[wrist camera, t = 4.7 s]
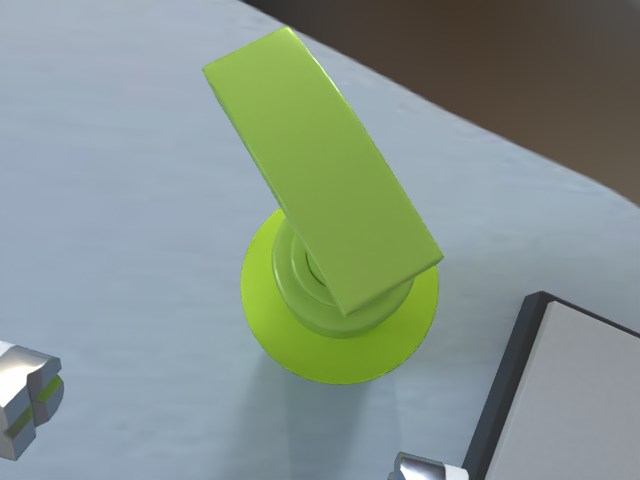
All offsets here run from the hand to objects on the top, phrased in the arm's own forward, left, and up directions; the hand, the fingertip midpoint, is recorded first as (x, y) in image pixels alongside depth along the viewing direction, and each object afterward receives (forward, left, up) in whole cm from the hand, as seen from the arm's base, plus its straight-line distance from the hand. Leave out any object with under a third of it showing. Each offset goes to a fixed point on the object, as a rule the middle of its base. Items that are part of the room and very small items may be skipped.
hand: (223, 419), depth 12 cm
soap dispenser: (+5, -1, -16) cm, 16 cm away
